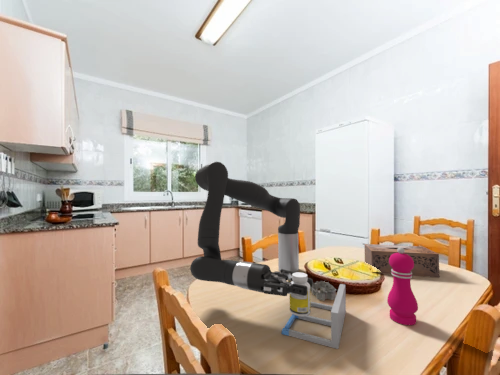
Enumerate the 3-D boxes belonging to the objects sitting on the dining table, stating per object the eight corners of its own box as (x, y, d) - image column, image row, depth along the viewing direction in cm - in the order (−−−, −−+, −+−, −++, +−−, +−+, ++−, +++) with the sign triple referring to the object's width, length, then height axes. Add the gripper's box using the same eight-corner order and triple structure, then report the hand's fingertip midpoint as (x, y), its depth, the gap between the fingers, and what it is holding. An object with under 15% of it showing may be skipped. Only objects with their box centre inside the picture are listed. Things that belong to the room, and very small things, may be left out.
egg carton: (306, 289, 89) (306, 277, 89) (325, 288, 89) (325, 277, 89) (316, 301, 78) (316, 289, 78) (338, 300, 79) (338, 288, 79)
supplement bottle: (297, 305, 66) (297, 269, 67) (314, 312, 62) (314, 274, 63) (285, 311, 63) (285, 274, 63) (302, 319, 59) (303, 279, 59)
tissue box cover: (423, 267, 113) (423, 246, 113) (439, 278, 99) (438, 253, 99) (364, 263, 119) (364, 244, 120) (371, 273, 105) (371, 250, 106)
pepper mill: (423, 328, 62) (421, 251, 62) (393, 325, 63) (391, 249, 64) (411, 314, 69) (409, 245, 70) (383, 311, 70) (382, 244, 71)
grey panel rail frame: (301, 302, 77) (300, 277, 77) (345, 311, 71) (345, 284, 71) (281, 333, 60) (281, 301, 60) (338, 349, 54) (337, 313, 54)
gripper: (239, 269, 63) (303, 281, 55) (261, 257, 76) (315, 265, 68) (239, 298, 63) (302, 313, 55) (261, 281, 75) (315, 291, 68)
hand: (309, 286), depth 62 cm, fingers closed on supplement bottle, 5 cm apart
